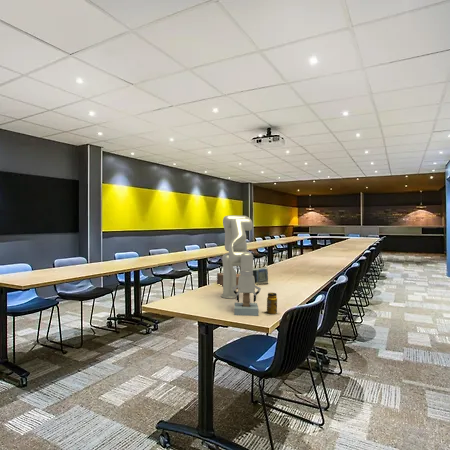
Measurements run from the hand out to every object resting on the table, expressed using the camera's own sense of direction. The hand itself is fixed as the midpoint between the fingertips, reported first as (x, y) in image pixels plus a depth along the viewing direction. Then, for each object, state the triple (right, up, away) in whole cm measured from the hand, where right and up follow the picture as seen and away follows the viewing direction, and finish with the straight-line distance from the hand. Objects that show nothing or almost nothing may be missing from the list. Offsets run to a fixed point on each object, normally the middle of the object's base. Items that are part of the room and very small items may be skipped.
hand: (246, 301), depth 203 cm
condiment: (+15, -7, -1) cm, 16 cm away
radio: (+14, -6, +92) cm, 93 cm away
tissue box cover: (-7, -6, +82) cm, 82 cm away
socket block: (0, -6, 0) cm, 6 cm away
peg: (0, -6, 0) cm, 6 cm away
